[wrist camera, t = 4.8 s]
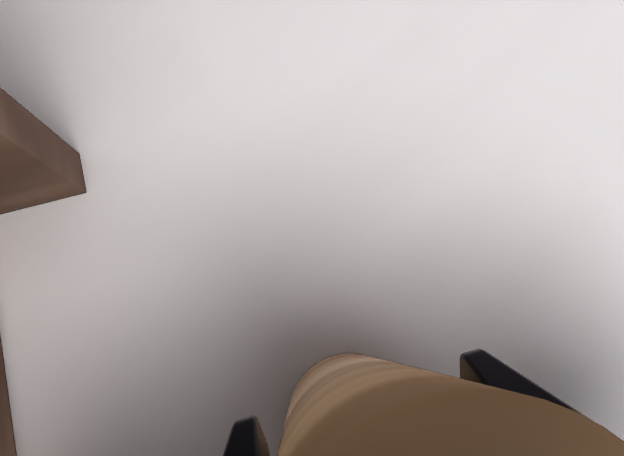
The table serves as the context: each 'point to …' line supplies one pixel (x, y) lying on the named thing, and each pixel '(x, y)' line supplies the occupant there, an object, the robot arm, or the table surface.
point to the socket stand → (30, 192)
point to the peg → (427, 416)
